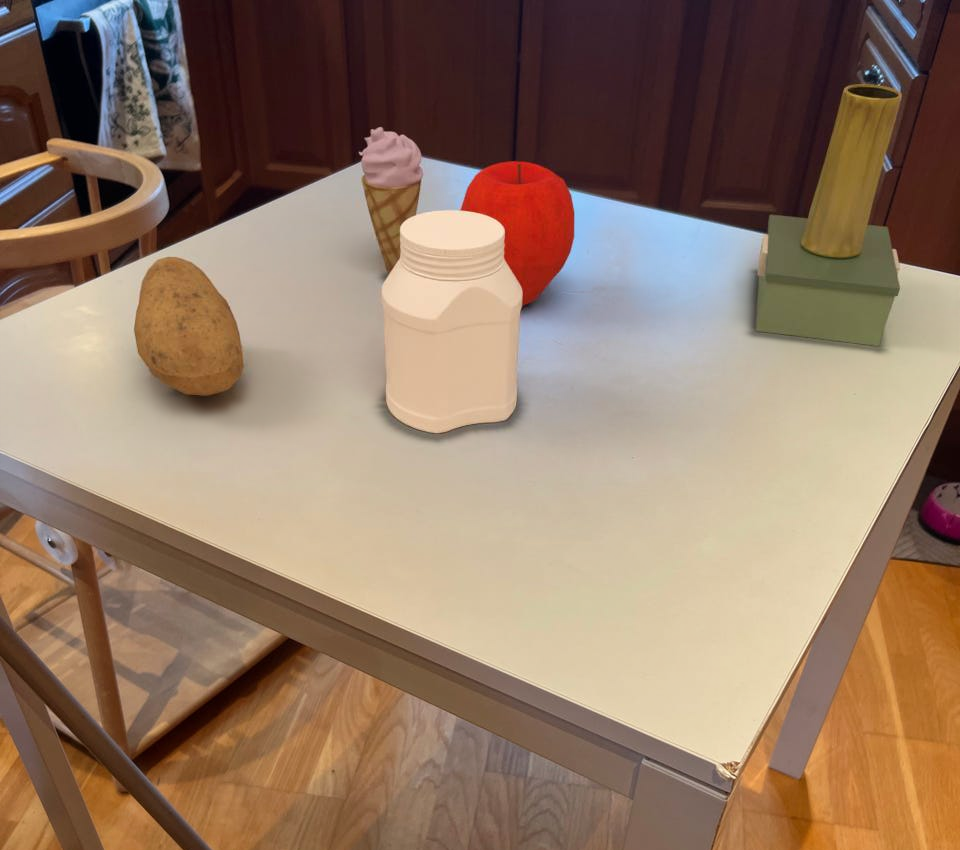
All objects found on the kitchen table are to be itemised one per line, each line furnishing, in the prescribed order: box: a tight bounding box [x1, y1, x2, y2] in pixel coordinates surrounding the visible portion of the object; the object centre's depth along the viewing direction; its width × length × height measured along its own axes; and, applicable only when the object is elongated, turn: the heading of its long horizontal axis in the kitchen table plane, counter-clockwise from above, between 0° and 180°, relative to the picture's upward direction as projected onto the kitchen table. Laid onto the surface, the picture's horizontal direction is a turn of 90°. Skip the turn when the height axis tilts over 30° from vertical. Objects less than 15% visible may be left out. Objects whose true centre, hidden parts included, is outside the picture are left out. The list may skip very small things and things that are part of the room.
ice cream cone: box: [358, 126, 424, 276], centre depth 101 cm, size 7×6×15 cm
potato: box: [133, 256, 245, 397], centre depth 84 cm, size 9×16×9 cm, turn 18°
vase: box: [801, 83, 903, 259], centre depth 94 cm, size 6×6×14 cm
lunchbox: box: [755, 214, 901, 347], centre depth 100 cm, size 13×16×6 cm
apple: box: [459, 160, 575, 307], centre depth 97 cm, size 12×12×13 cm
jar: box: [380, 209, 523, 434], centre depth 81 cm, size 12×10×15 cm
